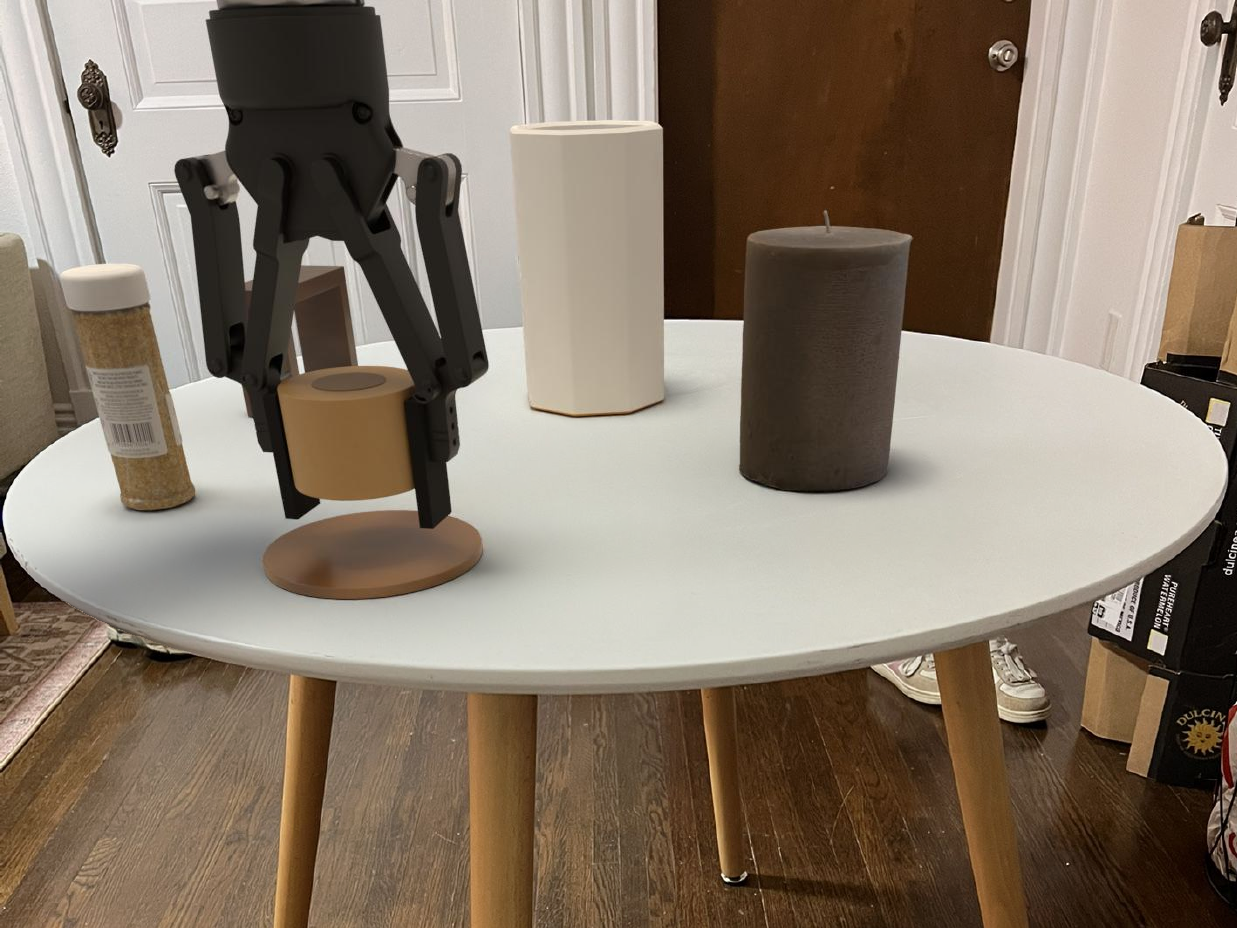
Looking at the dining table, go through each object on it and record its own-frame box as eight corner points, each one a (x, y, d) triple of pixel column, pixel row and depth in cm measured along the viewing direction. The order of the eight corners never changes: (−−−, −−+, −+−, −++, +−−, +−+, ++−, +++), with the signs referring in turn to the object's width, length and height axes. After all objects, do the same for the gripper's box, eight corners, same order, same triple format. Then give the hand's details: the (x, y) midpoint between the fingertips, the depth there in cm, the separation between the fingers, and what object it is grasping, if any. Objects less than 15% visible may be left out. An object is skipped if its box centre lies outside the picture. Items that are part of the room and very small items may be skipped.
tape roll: (270, 497, 61) (250, 395, 58) (332, 456, 67) (316, 362, 64) (398, 505, 60) (384, 402, 57) (450, 463, 65) (440, 367, 62)
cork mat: (222, 589, 62) (220, 578, 62) (325, 514, 72) (323, 504, 71) (434, 607, 60) (433, 596, 59) (511, 526, 69) (510, 516, 69)
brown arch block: (247, 416, 91) (222, 289, 86) (313, 382, 99) (293, 265, 94) (299, 419, 90) (277, 291, 85) (361, 384, 98) (344, 265, 93)
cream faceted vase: (501, 394, 95) (479, 125, 84) (622, 374, 99) (615, 117, 89) (564, 425, 87) (549, 133, 76) (692, 403, 91) (694, 123, 81)
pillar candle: (752, 496, 72) (762, 224, 64) (728, 450, 81) (734, 203, 72) (907, 489, 73) (937, 217, 65) (868, 444, 81) (890, 197, 73)
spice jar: (209, 491, 76) (158, 261, 68) (172, 514, 72) (113, 274, 65) (146, 487, 77) (88, 260, 69) (105, 510, 73) (40, 273, 65)
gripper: (536, -6, 52) (564, 503, 65) (138, 8, 56) (239, 483, 69) (477, -9, 46) (521, 552, 59) (37, 7, 50) (168, 527, 63)
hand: (368, 514), depth 64 cm, fingers closed on tape roll, 7 cm apart
